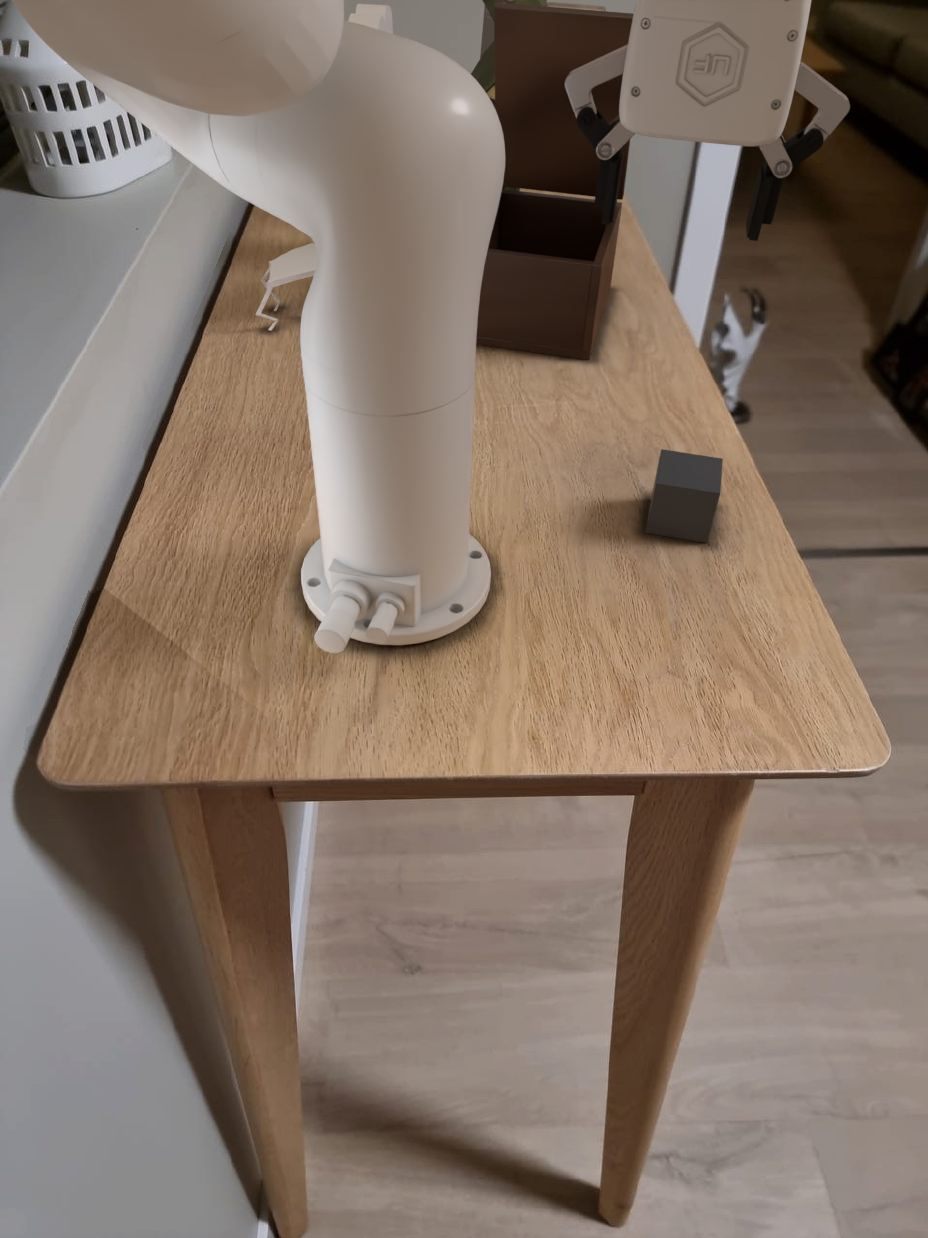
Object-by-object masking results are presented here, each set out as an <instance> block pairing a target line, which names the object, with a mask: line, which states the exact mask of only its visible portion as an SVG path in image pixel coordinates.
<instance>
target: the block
mask: <svg viewBox="0 0 928 1238" xmlns="http://www.w3.org/2000/svg"><path fill="white" fill-rule="evenodd" d="M723 461H724V459H723V458H721V457H715V456H708V455H702V454H695V453H688V452H682V451H676V450H669V449H664V448H663V449H660V453H659V457H658V463H657V466H656V467H657V468H656V472H655V477H654V483H653V486H652V492H651V496H650V498H651V499H650V503H649V509H648V514H647V522H646V528H645V533H646V534H650V535H656V536H662V537H667V538H673V539H680V540H686V541H691V542H697V543H698V542H699V543H703V544H708V542H709V539H710V538H709V537H710V534H711V532H712V531H711V530H712V526H713V524H714V521H715V520H714V519H715V516H716V512H717V508H718V505H719V501H720V497H721V490H722V489H721V488H722V476H723V463H724V462H723Z"/></svg>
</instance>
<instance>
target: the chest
mask: <svg viewBox="0 0 928 1238" xmlns="http://www.w3.org/2000/svg"><path fill="white" fill-rule="evenodd" d="M594 203H595V198H593V199H592V198H586V197H575V196H567V195H560V194H559V195H558V194H550V193H540V192H532V191H523V190H520V191H514V190H505V189H504V190H503V189H502V192H501V196H500V201H499V206H498V210H497V214H496V218H495V222H494V226H493V230H492V234H491V238H490V242H489V246H488V251H487V256H486V260H485V265H484V271H483V277H482V284H481V290H480V300H479V310H478V322H477V339H476V345H479V346H480V345H481V346H487V347H494V348H503V349H509V350H517V351H524V352H531V353H538V354H545V355H551V356H559V357H566V358H572V359H580V360H587V361H589V360H590V359H591V356H592V353H593V349H594V347H595V342H596V339H597V336H598V332H599V330H600V325H601V323H602V319H603V315H604V311H605V309H606V305H607V301H608V298H609V295H610V291H611V287H612V279H613V272H614V266H615V259H616V250H617V245H618V236H619V230H620V224H621V223H620V222H621V216H622V210H623V209H622V208H623V202H619V201H617V204H616V210H615V214H614V219H613V223H610V224H609V225H608V224H602V217H603V210H604V206H595V205H594Z"/></svg>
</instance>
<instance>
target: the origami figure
mask: <svg viewBox="0 0 928 1238" xmlns="http://www.w3.org/2000/svg"><path fill="white" fill-rule="evenodd" d="M316 261H317V254H316V247H315V243H314V242H311V243H308V244H305V245H301V246H298V247H295V248H293V249H290V250H289V251H286V252H285V253H283V254H281V255H279V256H277V257H276V258H274V259H272V260H269V261H268V264H269V265H268V269H267V270H266V271H265V273H264V275H263V276H262V277H261V281H260V282H261V283H262V285H263V286H264V287H265V289H266V290H265V293H264V295H263V297H262V300H261V302H260V304H259V306H258V308H257V310H256V312H255V314H254V315H255V316H257V317H261V318H263V319H266V320H270V321H272V323H271V325H270V326H269V328H268V329H267V331H271V332H272V331H273V329H274V328H275V326H276V324H277V323H278V321H279V319H278V318H276V317H273V316H270V315H267V314H265V313H262V312H263V310H264V308H265V306H266V304H267V302H268V300H269V298H270V296H271V297H272V299H273V300H274V301H275V302H276V305H275V307H274V308H273V312H277V311H278V308H279V305H280V303H281V301H280V299H279V297H278V296H277V294H276V293H275V291H274V288H275V287H280V286H282V285H286V284H288V283H292V282H295V281H298V280H302V279H307V278H311V277H314V273H315V268H316ZM268 277H269V278H268ZM267 278H268V280H267Z"/></svg>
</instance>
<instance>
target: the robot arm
mask: <svg viewBox="0 0 928 1238" xmlns="http://www.w3.org/2000/svg"><path fill="white" fill-rule="evenodd" d="M11 2H12V3H13V5H14V7H15V8H16V9H17V11H18V12H19V13H20V15H21V17H22V18H23V19H24V20H25V22H26V23H27V25H28V26H29V27H30V28H31V29H32V30H33V32H35V34H36V35H37V36H38V37H39V38H40V39H41V40H42V41H43V42H44V44H45V45H46V46H47V47H48V48H50V49H51V50H52V51H53V52H54V53H55V54H56V55H57V56H58V57H60V58H61V59H62V60H63V62H65V63H66V64H67V65H69V66H70V67H71V68H72V69H73V70H74V71H76V72H77V73H78V74H79V75H81V76H82V77H83V78H84V79H86V80H87V81H88V82H90V83H91V84H92V85H93V86H94V87H96V88H97V89H98V90H99V91H101V92H102V93H103V94H104V95H105V96H107V97H108V98H110V99H111V100H112V101H113V102H114V103H116V105H118V106H120V107H121V108H122V109H123V110H124V111H125V112H127V113H128V114H129V115H131V116H132V117H133V118H134V119H135V120H137V121H138V122H139V123H141V124H142V125H143V126H144V127H146V128H147V129H148V130H150V131H151V132H152V133H153V134H154V135H156V136H157V137H158V138H160V139H161V140H162V141H164V142H165V143H166V144H167V145H169V146H170V148H172V149H174V150H175V151H176V152H178V153H179V154H180V155H181V156H182V157H184V158H185V159H186V160H188V161H189V162H190V163H192V164H193V165H194V167H195V166H196V167H197V168H198V169H199V170H200V171H202V172H203V173H204V174H206V175H207V176H208V177H210V178H211V179H213V180H214V181H215V182H216V183H218V184H219V185H221V186H222V187H224V188H225V189H226V190H228V192H231V193H233V194H234V195H236V196H237V197H239V198H241V199H243V200H244V201H246V202H248V203H249V204H251V205H253V206H255V207H257V208H259V209H260V210H262V211H264V212H265V213H268V214H269V215H272V216H274V217H275V218H278V219H280V220H281V221H282V222H285V223H287V224H289V225H291V226H292V227H294V228H295V229H297V230H298V231H300V232H302V233H303V234H305V235H307V236H309V238H310V239H312V241H313V243H315V247H316V254H317V261H316V268H315V273H314V276H312V280H311V283H310V286H309V289H308V291H307V294H306V297H305V300H304V303H303V307H302V312H301V317H300V327H299V344H300V345H299V346H300V356H301V357H300V358H301V366H302V367H301V368H302V376H303V381H304V389H305V401H306V410H307V420H308V428H309V429H308V430H309V439H310V449H311V458H312V459H311V460H312V468H313V475H314V487H315V496H316V497H315V498H316V507H317V516H318V524H319V535H320V537H319V538H318V539H317V540H316V541H315V542H314V543H313V544H312V545H311V546H310V548H309V549H308V551H307V553H306V555H305V556H304V559H303V561H302V566H301V568H300V581H301V582H300V583H301V588H302V594H303V598H304V600H305V603H306V604H307V607H308V609H309V610H310V611H311V613H312V614H313V615H314V616H315V617H316V619H317V620H318V621H320V624H319V626H318V628H317V630H316V632H315V634H314V636H313V638H314V643H315V644H316V645H317V647H318V648H319V649H321V650H322V651H323V652H326V653H328V654H329V653H330V654H333V655H335V654H340V653H343V651H345V649H346V647H347V645H348V643H349V640H350V639H353V640H356V641H360V642H362V643H368V644H373V645H381V646H405V645H413V644H422V643H425V642H430V641H432V640H437V639H439V638H442V637H444V636H447V635H449V634H451V633H454V632H455V631H457V630H458V629H460V628H462V627H463V626H465V625H466V624H468V623H469V622H470V621H471V620H472V619H474V617H475V616H477V614H478V613H479V612H480V611H481V609H482V608H483V606H484V605H485V603H486V601H487V599H488V595H489V594H490V590H491V579H492V570H491V562H490V559H489V556H488V555H487V553H486V550H485V549H484V547H483V546H482V545H481V543H480V542H479V541H478V539H476V538H475V537H474V536H473V535H471V534H470V527H471V525H470V523H471V499H472V498H471V497H472V474H473V473H472V471H473V450H474V449H473V446H474V445H473V443H474V422H475V421H474V420H475V419H474V418H475V416H474V415H475V395H476V393H475V392H476V391H475V390H476V360H477V359H476V358H477V357H476V355H477V344H476V339H477V322H478V310H479V300H480V290H481V284H482V277H483V271H484V265H485V260H486V256H487V251H488V246H489V242H490V238H491V234H492V230H493V226H494V222H495V218H496V214H497V210H498V206H499V201H500V196H501V192H502V187H503V180H504V172H505V144H504V136H503V131H502V127H501V124H500V121H499V118H498V115H497V112H496V110H495V108H494V106H493V104H492V102H491V100H490V98H489V97H488V95H487V93H486V92H485V91H484V89H483V88H482V87H481V85H480V84H479V83H478V82H477V80H476V79H475V78H474V77H473V76H472V75H471V73H470V72H469V71H468V70H466V69H465V67H463V66H462V65H461V64H459V63H458V62H457V61H455V60H454V59H452V58H450V57H449V56H447V55H445V54H444V53H443V52H441V51H439V50H437V49H435V48H433V47H430V46H428V45H425V44H423V43H421V42H419V41H416V40H413V39H410V38H408V37H404V36H401V35H399V34H395V33H393V34H391V33H388V32H385V31H382V30H378V29H375V28H372V27H368V26H365V25H362V24H357V23H353V22H348V20H347V21H346V20H345V0H11ZM811 7H812V0H635V4H634V9H633V20H632V25H631V31H630V36H629V42H628V44H627V45H625V46H623V47H621V48H619V49H617V50H615V51H612V52H610V53H608V54H606V55H604V56H602V57H600V58H598V59H596V60H593V61H591V62H589V63H587V64H585V65H583V66H581V67H579V68H576V69H574V70H572V71H571V72H569V74H568V76H567V78H566V80H565V88H566V91H567V94H568V97H569V100H570V103H571V106H572V108H573V111H574V113H575V116H576V119H577V125H578V127H579V128H580V129H581V131H582V132H583V133H584V135H585V136H586V137H587V139H588V140H589V142H590V143H591V144H592V146H593V147H594V148H595V150H596V154H597V156H598V157H599V158H600V163H599V171H598V179H597V187H596V194H595V197H594V200H595V203H594V205H595V206H604V210H603V217H602V224H608V225H609V224H610V223H613V219H614V214H615V210H616V204H617V202H618V199H617V197H618V190H619V183H620V176H621V169H622V162H623V155H624V152H621V149H622V147H623V146H624V145H625V144H626V143H627V142H628V141H629V140H630V141H631V139H632V138H633V137H634V136H635V135H638V136H642V137H648V138H656V139H666V140H673V141H684V142H685V141H686V142H694V143H703V144H704V143H705V144H716V145H725V146H736V147H737V146H738V147H759V150H760V151H761V154H762V155H763V158H764V159H765V160H764V161H763V162H762V165H759V168H758V171H757V176H756V178H755V179H756V180H755V184H754V188H753V192H752V197H751V200H750V205H749V209H748V213H747V216H746V222H745V228H746V229H745V230H746V238H747V239H749V241H755V242H757V241H759V237H760V234H761V229H762V227H763V226H762V225H772V223H773V220H774V218H775V217H774V216H775V212H776V209H777V205H778V202H779V199H780V198H779V197H780V194H781V189H782V185H783V183H784V178H787V177H788V176H789V175H790V174H791V172H792V170H793V169H796V167H797V166H799V165H800V164H801V163H803V162H804V161H805V160H807V159H808V158H810V157H811V156H812V155H814V154H815V153H816V152H818V151H819V150H820V149H821V148H822V147H823V145H824V142H825V141H826V140H827V139H828V137H829V136H831V134H832V133H833V132H834V131H835V129H836V128H837V127H838V126H839V124H840V123H841V122H842V121H843V120H844V118H845V117H846V116H847V115H848V114H849V112H850V109H851V104H850V101H849V98H848V97H847V95H846V94H844V92H842V91H841V90H839V89H838V88H837V87H835V86H834V85H833V84H832V83H830V82H829V81H828V80H826V79H825V78H824V77H823V76H821V75H820V74H819V73H817V71H815V70H814V69H812V68H811V67H810V66H809V65H807V64H806V63H804V62H803V61H802V56H803V49H804V46H805V40H806V33H807V28H808V23H809V17H810V13H811ZM622 74H623V78H622V85H621V93H620V103H619V115H618V116H617V117H616V118H615V119H614V120H613V121H612V122H611V123H610V124H608V122H607V121H606V120H605V118H604V117H603V115H602V114H601V113H600V111H599V110H598V109H597V107H596V106H595V104H594V101H593V96H592V93H591V89H592V88H594V87H595V86H598V85H600V84H602V83H604V82H606V81H608V80H611V79H613V78H615V77H617V76H619V75H622ZM795 92H796V93H798V94H799V95H800V96H801V97H803V98H804V99H805V100H807V101H808V102H809V103H811V104H812V105H813V106H814V107H816V108H817V112H816V114H815V115H814V116H813V118H812V120H810V121H811V122H810V123H808V125H806V126H805V127H804V128H802V129H801V130H800V131H798V132H797V133H796V134H794V135H793V136H792V137H790V138H789V139H788V140H785V138H784V136H783V132H784V129H785V127H786V123H787V120H788V117H789V114H790V109H791V105H792V103H793V97H794V93H795Z"/></svg>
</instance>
